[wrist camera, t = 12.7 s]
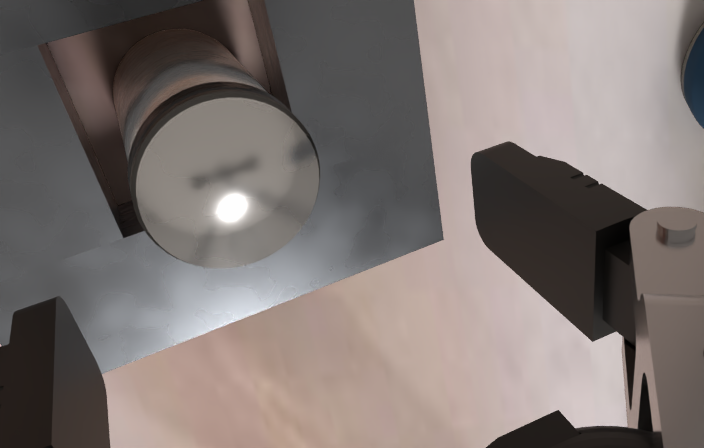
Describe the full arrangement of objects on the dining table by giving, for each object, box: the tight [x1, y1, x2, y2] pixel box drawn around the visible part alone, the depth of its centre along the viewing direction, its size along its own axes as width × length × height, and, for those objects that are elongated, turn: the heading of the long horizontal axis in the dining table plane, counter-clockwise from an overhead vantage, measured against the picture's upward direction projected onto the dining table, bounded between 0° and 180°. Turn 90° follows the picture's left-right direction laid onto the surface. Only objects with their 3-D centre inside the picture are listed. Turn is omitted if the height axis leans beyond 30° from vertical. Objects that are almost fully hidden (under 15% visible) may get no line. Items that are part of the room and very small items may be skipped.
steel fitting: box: [113, 29, 320, 269], centre depth 19 cm, size 5×5×8 cm
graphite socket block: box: [0, 0, 444, 374], centre depth 21 cm, size 16×16×2 cm
